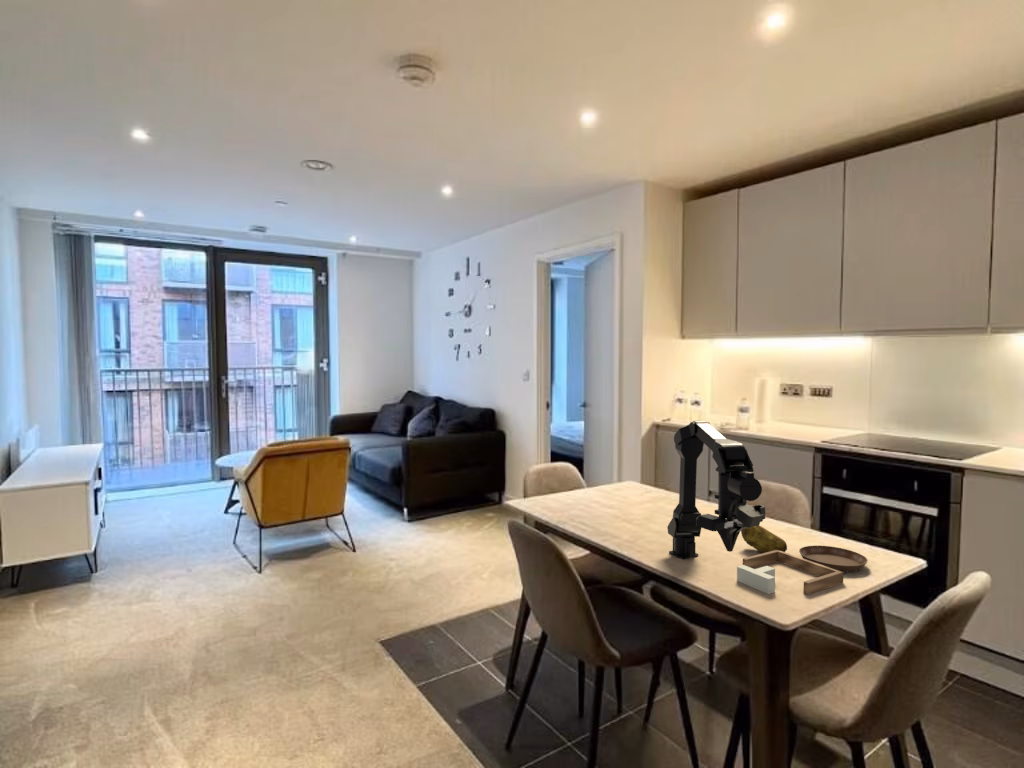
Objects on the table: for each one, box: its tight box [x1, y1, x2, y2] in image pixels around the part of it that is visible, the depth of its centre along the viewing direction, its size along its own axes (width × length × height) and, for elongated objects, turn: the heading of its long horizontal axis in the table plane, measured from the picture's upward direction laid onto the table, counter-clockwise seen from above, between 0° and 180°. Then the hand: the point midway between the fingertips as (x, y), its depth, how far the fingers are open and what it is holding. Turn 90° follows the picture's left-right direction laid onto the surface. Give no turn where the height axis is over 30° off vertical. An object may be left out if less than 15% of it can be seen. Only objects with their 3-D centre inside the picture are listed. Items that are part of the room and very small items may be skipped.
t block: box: [736, 564, 776, 595], centre depth 154 cm, size 10×8×4 cm
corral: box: [742, 550, 844, 595], centre depth 160 cm, size 20×15×3 cm
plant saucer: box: [798, 545, 869, 573], centre depth 169 cm, size 18×18×3 cm
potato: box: [740, 525, 788, 554], centre depth 180 cm, size 8×13×8 cm, turn 38°
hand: (729, 551), depth 148 cm, fingers closed
